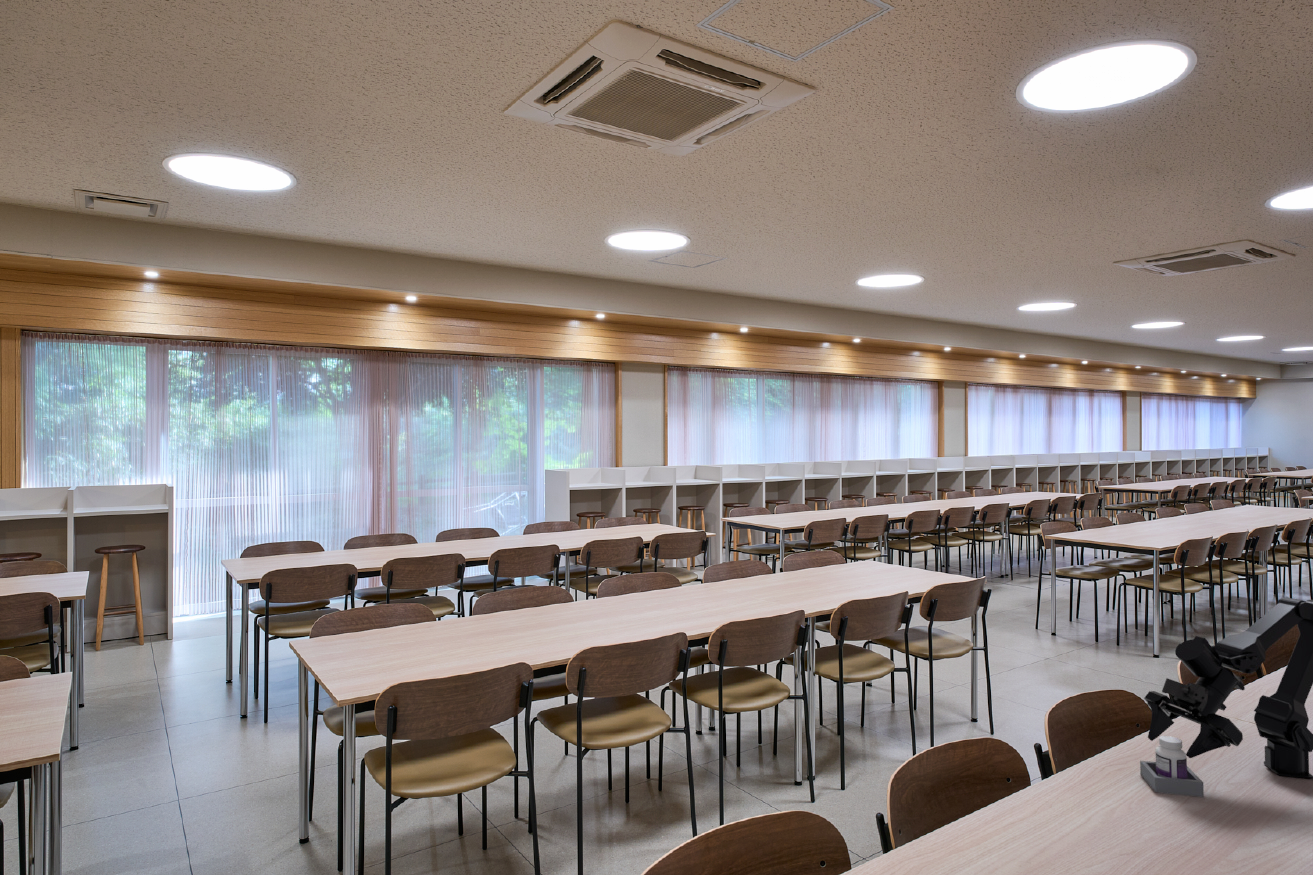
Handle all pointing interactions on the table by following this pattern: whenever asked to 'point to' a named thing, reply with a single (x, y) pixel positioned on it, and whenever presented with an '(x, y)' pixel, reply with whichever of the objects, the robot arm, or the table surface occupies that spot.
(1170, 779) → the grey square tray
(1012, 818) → the table surface
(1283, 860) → the table surface
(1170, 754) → the pill bottle
